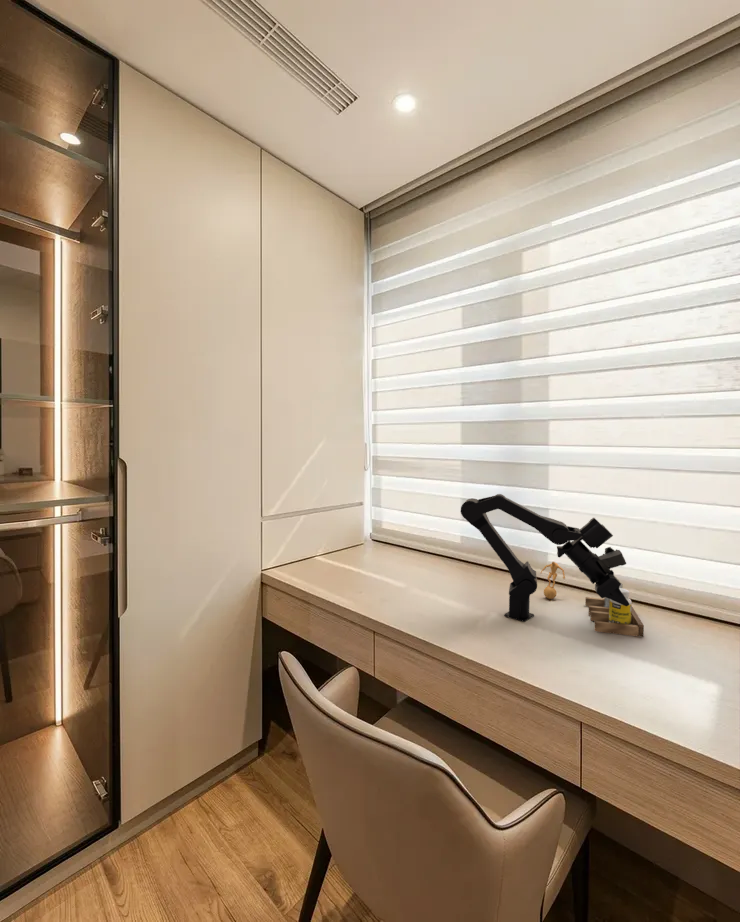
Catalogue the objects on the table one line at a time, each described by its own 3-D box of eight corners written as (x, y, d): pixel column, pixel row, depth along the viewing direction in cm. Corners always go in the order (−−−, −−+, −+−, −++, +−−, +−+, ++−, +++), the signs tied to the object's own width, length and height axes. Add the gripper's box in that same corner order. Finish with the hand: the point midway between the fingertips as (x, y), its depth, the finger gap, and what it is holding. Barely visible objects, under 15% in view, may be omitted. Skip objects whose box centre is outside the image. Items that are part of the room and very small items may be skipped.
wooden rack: (595, 631, 127) (595, 619, 127) (585, 604, 147) (585, 594, 147) (643, 637, 124) (643, 625, 124) (626, 609, 144) (627, 598, 143)
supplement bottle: (608, 626, 128) (609, 591, 128) (608, 619, 133) (610, 585, 133) (630, 630, 126) (632, 594, 125) (630, 623, 130) (631, 588, 130)
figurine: (535, 596, 154) (535, 561, 154) (543, 592, 159) (544, 557, 158) (559, 603, 148) (560, 566, 148) (567, 599, 152) (568, 562, 152)
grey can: (618, 617, 137) (619, 587, 137) (601, 612, 141) (602, 583, 140) (623, 612, 141) (624, 583, 140) (607, 608, 144) (607, 579, 144)
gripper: (613, 548, 120) (659, 594, 118) (601, 533, 138) (642, 573, 135) (578, 574, 123) (623, 621, 121) (571, 557, 141) (610, 597, 138)
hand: (625, 601), depth 129 cm, fingers closed on supplement bottle, 5 cm apart
